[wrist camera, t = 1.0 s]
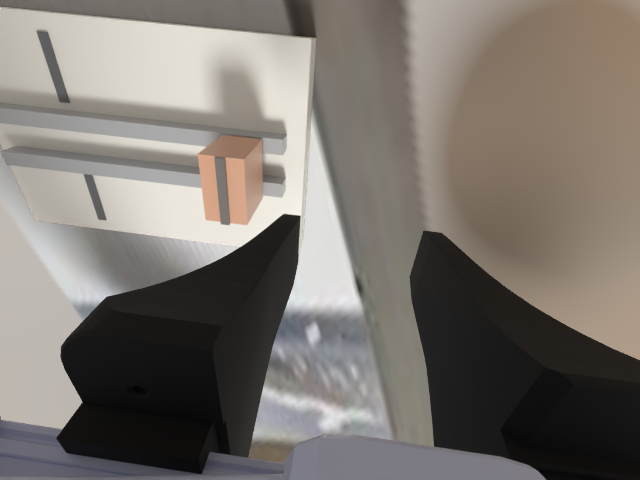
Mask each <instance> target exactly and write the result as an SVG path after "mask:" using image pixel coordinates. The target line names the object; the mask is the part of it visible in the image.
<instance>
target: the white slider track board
mask: <svg viewBox="0 0 640 480" xmlns="http://www.w3.org/2000/svg"><path fill="white" fill-rule="evenodd" d="M315 51H316V38H313V37H303V36H293V35H283V34H272V33H262V32H252V31H242V30H232V29H222V28H212V27H202V26H192V25H182V24H172V23H162V22H152V21H142V20H132V19H122V18H111V17H101V16H91V15H81V14H71V13H61V12H51V11H41V10H31V9H21V8H11V7H1V6H0V145H1V147H2V149H3V150H2V151H1V153H2V155H3V157H4V159H5V162H6V164H7V165H10V167H11V169H12V171H13V174H14V176H15V178H16V180H17V182H18V185H19V187H20V189H21V191H22V194H23V196H24V198H25V200H26V202H27V205H28V207H29V209H30V211H31V213H32V216H33V218H34V220H35V221H42V222H49V223H57V224H65V225H73V226H81V227H89V228H97V229H105V230H112V231H120V232H128V233H136V234H144V235H152V236H160V237H168V238H175V239H183V240H191V241H199V242H207V243H215V244H223V245H231V246H239V247H241V246H243V245H244V244H246V243H247V242H249V241H250V240H251V239H253V238H254V237H255V236H257V235H258V234H259V233H261V232H262V231H263V230H264V229H266V228H267V227H268V226H269V225H271V224H272V223H273V222H274V221H275V220H276V219H278V218H279V217H280V216H281V215H283V214H290V215H299V216H301V220H300V237H299V252H300V249H301V245H302V241H303V237H304V221H305V206H306V190H307V175H308V159H309V144H310V128H311V113H312V97H313V82H314V66H315ZM222 135H228V136H237V137H245V138H254V139H262V167H263V199H262V200H261V202H260V204H259V206H258V207H257V209H256V211H255V213H254V214H253V216H252V218H251V220H250V221H249V223H248V225H241V224H233V223H230V225H222V224H221V222H217V221H209V220H206V219H205V211H204V203H203V195H202V187H201V179H200V171H199V163H198V153H199V152H201V151H202V150H203V149H205V148H206V147H207V146H209V145H210V144H211V143H213V142H214V141H215V140H216V139H218V138H219V137H220V136H222Z"/></svg>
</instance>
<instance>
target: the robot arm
mask: <svg viewBox="0 0 640 480" xmlns="http://www.w3.org/2000/svg"><path fill="white" fill-rule="evenodd" d="M300 220H301V216H299V215H290V214H283V215H281V216H280V217H279V218H278V219H276V220H275V221H274V222H273V223H272V224H271V225H269V226H268V227H267V228H266V229H264V230H263V231H262V232H261V233H259V234H258V235H257V236H255V237H254V238H253V239H251V240H250V241H249V242H247V243H246V244H244V245H243V246H241V247H240V248H238V249H237V250H235V251H233V252H232V253H230V254H228V255H227V256H225V257H223V258H221V259H219V260H217V261H215V262H213V263H211V264H209V265H207V266H204V267H202V268H200V269H197V270H195V271H193V272H190V273H188V274H186V275H183V276H180V277H177V278H175V279H172V280H169V281H166V282H162V283H159V284H156V285H153V286H149V287H146V288H142V289H138V290H134V291H130V292H126V293H121V294H117V295H113V296H108V297H106V298H105V299H104V300H103V301H102V302H101V303H100V304H99V305H98V306H97V307H96V308H95V309H94V310H93V311H92V312H91V313H90V314H89V316H88V317H87V318H86V319H85V320H84V321H83V322H82V323H81V324H80V325H79V326H78V327H77V328H76V329H75V330H74V331H73V332H72V333H71V335H70V336H69V337H68V338H67V339H66V340H65V342H64V343H63V345H62V346H61V360H62V363H63V366H64V369H65V371H66V373H67V374H68V376H69V378H70V380H71V382H72V384H73V385H74V387H75V389H76V391H77V392H78V394H79V396H80V398H81V400H82V402H83V403H82V404H81V406H80V407H79V408H78V409H77V411H76V412H75V413H74V415H73V416H72V417H71V419H70V420H69V422H68V423H67V424H66V426H65V427H64V428H63V429H57V428H51V427H44V426H37V425H30V424H25V423H18V422H12V421H5V420H1V417H0V480H640V360H638V359H635V358H633V357H631V356H628V355H626V354H624V353H621V352H619V351H617V350H614V349H612V348H610V347H608V346H606V345H604V344H602V343H600V342H598V341H595V340H594V339H592V338H590V337H587V336H585V335H583V334H582V333H580V332H578V331H576V330H574V329H572V328H570V327H568V326H566V325H565V324H563V323H561V322H559V321H558V320H556V319H554V318H552V317H551V316H549V315H547V314H545V313H544V312H542V311H540V310H539V309H537V308H535V307H534V306H532V305H530V304H529V303H528V302H526V301H524V300H523V299H522V298H520V297H519V296H517V295H516V294H514V293H513V292H511V291H510V290H508V289H507V288H506V287H505V286H503V285H502V284H501V283H499V282H498V281H497V280H495V279H494V278H493V277H492V276H490V275H489V274H488V273H487V272H485V271H484V270H483V269H482V268H481V267H480V266H478V265H477V264H476V263H475V262H474V261H473V260H472V259H470V258H469V257H468V256H467V255H466V254H465V253H464V252H463V251H462V250H461V249H459V248H458V247H457V246H456V245H455V244H454V243H453V242H452V241H451V240H449V239H448V238H447V237H446V236H444V235H443V234H442V233H438V232H430V231H423V234H422V238H421V241H420V244H419V248H418V251H417V254H416V258H415V261H414V264H413V268H412V271H411V275H410V285H411V297H412V304H413V308H414V313H415V317H416V322H417V326H418V330H419V334H420V339H421V343H422V347H423V352H424V356H425V362H426V367H427V375H428V384H429V393H430V403H431V413H432V424H433V437H434V447H432V446H426V445H419V444H412V443H406V442H399V441H392V440H385V439H379V438H372V437H365V436H358V435H325V434H323V435H321V436H318V437H315V438H312V439H309V440H306V441H303V442H301V443H299V444H298V445H296V446H295V447H294V448H293V450H292V451H291V453H290V454H289V456H288V457H287V459H286V461H285V463H279V462H272V461H266V460H259V459H253V458H248V455H249V450H250V445H251V441H252V436H253V431H254V426H255V422H256V417H257V412H258V408H259V403H260V398H261V394H262V390H263V385H264V381H265V376H266V372H267V368H268V363H269V359H270V355H271V351H272V346H273V343H274V340H275V336H276V333H277V330H278V327H279V325H280V322H281V319H282V316H283V313H284V310H285V308H286V305H287V302H288V299H289V296H290V293H291V290H292V287H293V284H294V279H295V275H296V270H297V265H298V255H299V237H300Z"/></svg>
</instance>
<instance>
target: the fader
mask: <svg viewBox="0 0 640 480" xmlns="http://www.w3.org/2000/svg"><path fill="white" fill-rule="evenodd" d="M198 163H199V171H200V179H201V187H202V195H203V203H204V211H205V219H206V220H209V221H217V222H221V224H222V225H230V223H233V224H241V225H248V223H249V221H250V220H251V218H252V216H253V214H254V213H255V211H256V209H257V207H258V206H259V204H260V202H261V200H262V199H263V167H262V139H254V138H245V137H237V136H228V135H222V136H220V137H219V138H218V139H216V140H215V141H214V142H213V143H211V144H210V145H209V146H207V147H206V148H205V149H203V150H202V151H201V152H199V153H198Z"/></svg>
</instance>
